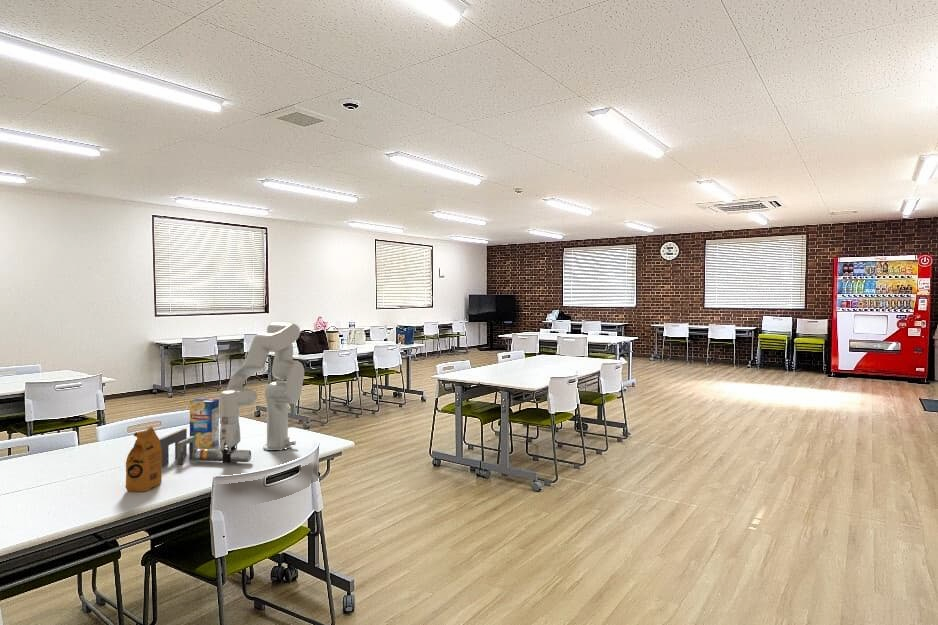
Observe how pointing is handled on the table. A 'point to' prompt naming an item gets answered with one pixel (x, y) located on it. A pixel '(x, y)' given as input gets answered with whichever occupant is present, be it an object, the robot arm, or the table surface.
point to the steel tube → (221, 455)
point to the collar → (180, 449)
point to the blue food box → (204, 422)
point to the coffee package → (144, 462)
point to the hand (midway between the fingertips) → (229, 460)
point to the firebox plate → (171, 439)
